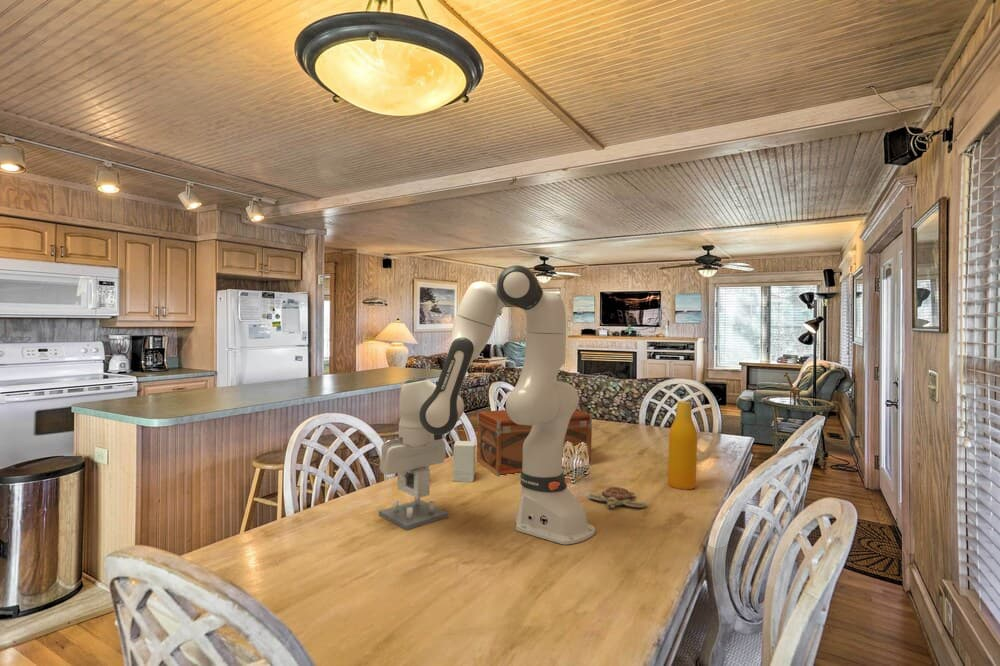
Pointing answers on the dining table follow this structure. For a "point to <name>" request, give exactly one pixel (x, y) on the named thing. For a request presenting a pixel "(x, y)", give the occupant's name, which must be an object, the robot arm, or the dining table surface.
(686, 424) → the beer bottle
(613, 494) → the decorative turtle
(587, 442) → the wooden box
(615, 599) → the dining table surface
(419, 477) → the block
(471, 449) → the supplement box
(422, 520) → the pin tray
